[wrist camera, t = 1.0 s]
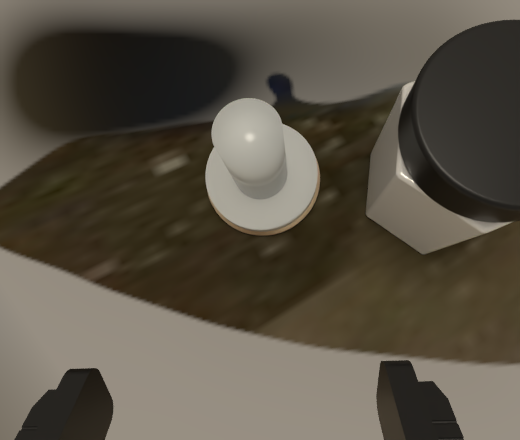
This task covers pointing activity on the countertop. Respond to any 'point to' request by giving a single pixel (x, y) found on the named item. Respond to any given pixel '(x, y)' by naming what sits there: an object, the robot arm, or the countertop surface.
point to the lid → (259, 167)
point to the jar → (453, 144)
